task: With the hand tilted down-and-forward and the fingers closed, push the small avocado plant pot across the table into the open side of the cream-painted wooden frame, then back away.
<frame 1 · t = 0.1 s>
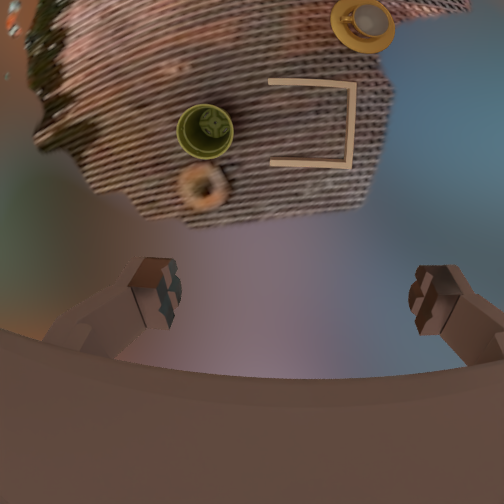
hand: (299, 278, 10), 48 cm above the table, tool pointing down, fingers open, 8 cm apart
plant pot: (215, 122, 52), on the table
cup: (362, 23, 39), on the table
frame: (308, 121, 50), on the table
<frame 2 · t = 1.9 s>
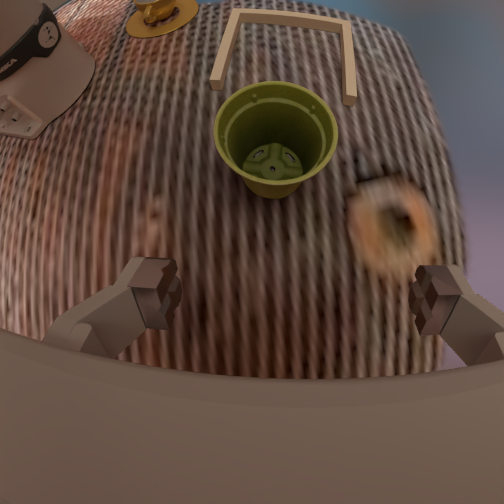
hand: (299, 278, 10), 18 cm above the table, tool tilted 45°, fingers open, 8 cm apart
plant pot: (273, 172, 30), on the table
cup: (162, 17, 35), on the table
frame: (287, 56, 32), on the table
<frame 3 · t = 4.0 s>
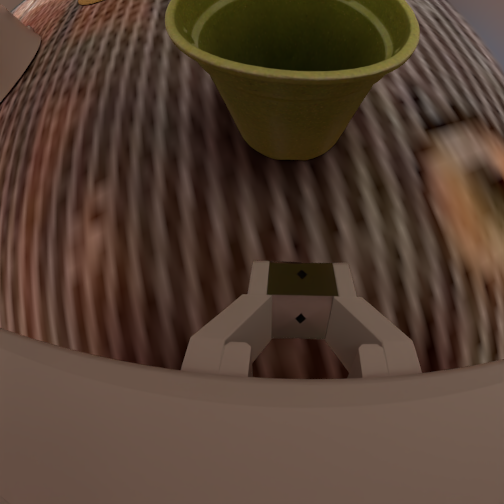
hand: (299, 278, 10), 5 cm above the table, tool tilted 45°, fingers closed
plant pot: (291, 120, 16), on the table
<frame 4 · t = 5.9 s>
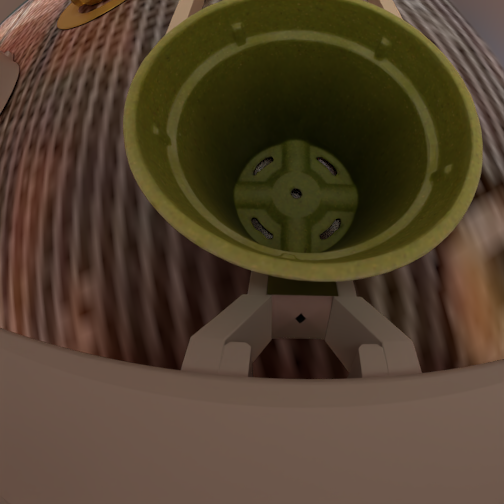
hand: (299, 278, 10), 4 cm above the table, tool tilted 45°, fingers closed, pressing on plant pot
plant pot: (297, 200, 15), on the table, touching gripper
cup: (102, 0, 22), on the table
frame: (288, 8, 18), on the table
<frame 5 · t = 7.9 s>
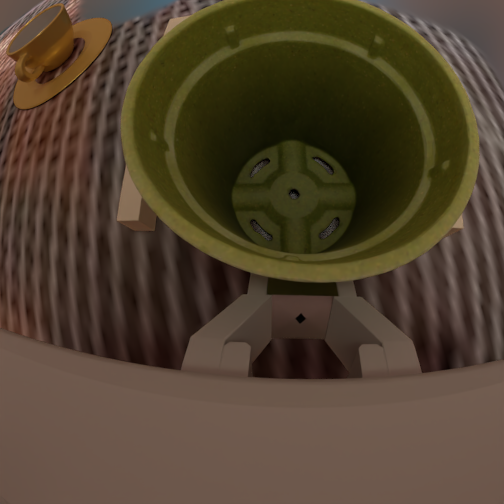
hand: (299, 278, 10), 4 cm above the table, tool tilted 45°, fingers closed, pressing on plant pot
plant pot: (295, 200, 15), on the table, touching gripper
cup: (61, 62, 20), on the table
frame: (292, 112, 16), on the table
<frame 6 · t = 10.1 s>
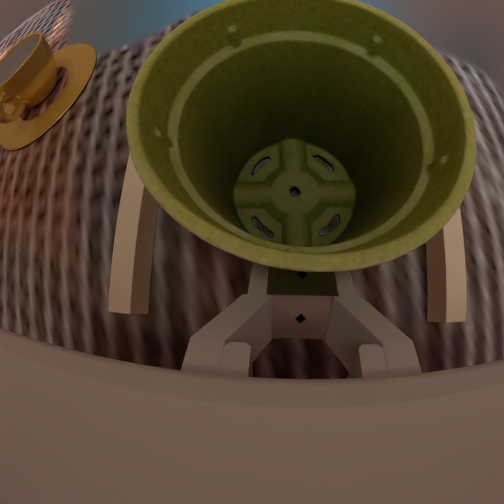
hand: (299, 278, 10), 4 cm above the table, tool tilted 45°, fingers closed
plant pot: (296, 198, 15), on the table
cup: (45, 94, 19), on the table
frame: (293, 180, 15), on the table
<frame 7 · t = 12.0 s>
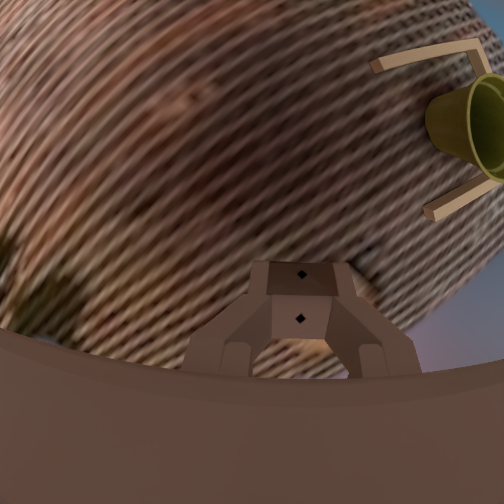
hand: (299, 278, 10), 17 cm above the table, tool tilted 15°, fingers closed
plant pot: (444, 125, 24), on the table
frame: (450, 121, 24), on the table
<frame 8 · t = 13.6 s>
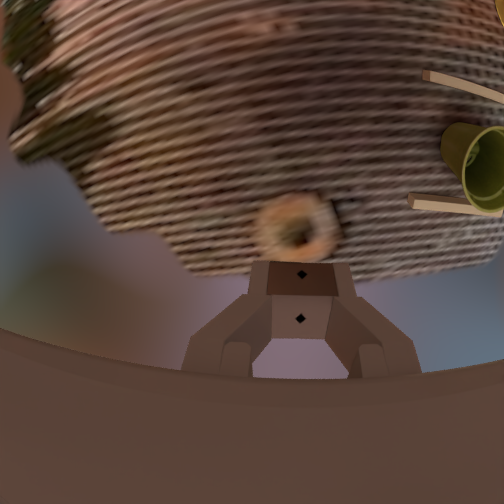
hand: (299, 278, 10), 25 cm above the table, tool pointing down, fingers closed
plant pot: (457, 145, 28), on the table
frame: (464, 146, 28), on the table
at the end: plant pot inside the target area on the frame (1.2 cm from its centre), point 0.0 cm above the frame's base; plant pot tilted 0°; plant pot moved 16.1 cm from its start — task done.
